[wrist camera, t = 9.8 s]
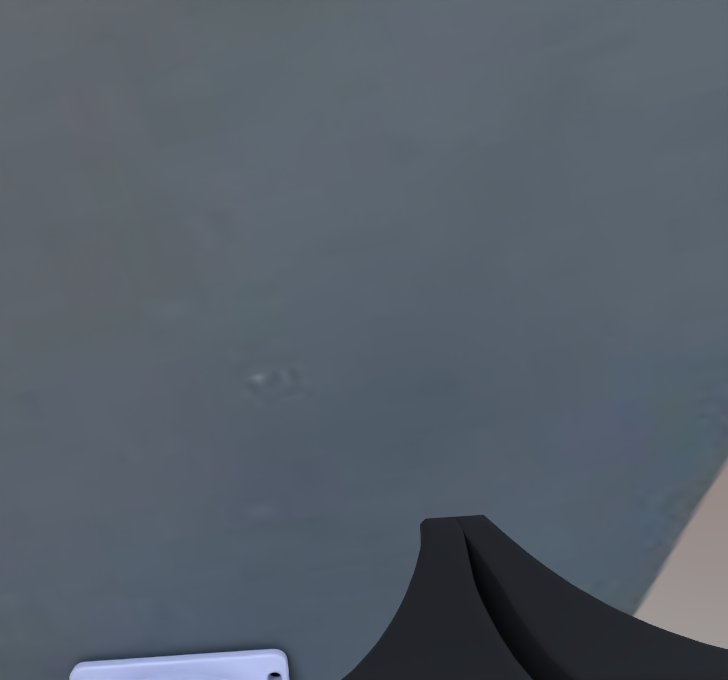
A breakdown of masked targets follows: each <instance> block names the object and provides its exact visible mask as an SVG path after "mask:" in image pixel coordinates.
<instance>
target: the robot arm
mask: <svg viewBox="0 0 728 680" xmlns="http://www.w3.org/2000/svg"><path fill="white" fill-rule="evenodd" d="M420 532H421V548H420V553H419V557H418V560H417V564H416V568H415V571H414V574H413V577H412V579H411V582H410V585H409V587H408V590H407V592H406V595H405V597H404V599H403V601H402V603H401V605H400V607H399V609H398V611H397V613H396V614H395V616H394V618H393V620H392V621H391V623H390V624H389V626H388V628H387V629H386V631H385V632H384V634H383V635H382V637H381V638H380V639H379V641H378V642H377V643H376V645H375V646H374V647H373V648H372V650H371V651H370V652H369V653H368V654H367V655H366V656H365V657H364V659H363V660H362V661H361V662H360V663H359V664H358V665H357V667H356V668H355V669H354V670H353V671H351V672H350V673H349V674H348V675H346V676H345V677H344V678H343V679H342V680H728V649H724V648H720V647H716V646H712V645H708V644H705V643H702V642H698V641H695V640H692V639H689V638H687V637H684V636H680V635H678V634H675V633H672V632H669V631H666V630H664V629H661V628H659V627H656V626H653V625H651V624H648V623H646V622H644V621H642V620H639V619H637V618H635V617H633V616H630V615H628V614H626V613H624V612H621V611H619V610H617V609H615V608H613V607H611V606H609V605H607V604H605V603H603V602H602V601H600V600H598V599H596V598H594V597H593V596H591V595H589V594H587V593H586V592H584V591H582V590H580V589H579V588H577V587H575V586H574V585H572V584H571V583H569V582H567V581H566V580H565V579H563V578H562V577H560V576H559V575H557V574H556V573H554V572H553V571H551V570H550V569H548V568H547V567H546V566H544V565H543V564H542V563H540V562H539V561H538V560H536V559H535V558H534V557H532V556H531V555H530V554H529V553H527V552H526V551H525V550H524V549H522V548H521V547H520V546H519V545H518V544H516V543H515V542H514V541H513V540H512V539H510V538H509V537H508V536H507V535H506V534H505V533H503V532H502V531H501V530H500V529H499V528H498V527H497V526H496V525H494V524H493V523H492V522H491V521H490V520H489V519H488V518H486V517H485V516H484V515H476V516H461V517H445V518H430V519H425V520H424V521H423V522H422V523H421V524H420ZM273 672H276V673H279V674H280V676H277V677H275V676H272V675H270V673H273ZM70 680H290V679H289V668H288V659H287V656H286V654H285V653H284V652H283V651H281V650H279V649H262V650H248V651H233V652H219V653H204V654H190V655H175V656H161V657H146V658H132V659H118V660H103V661H89V662H81V663H79V664H77V665H76V666H75V667H74V669H73V671H72V672H71V674H70Z"/></svg>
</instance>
